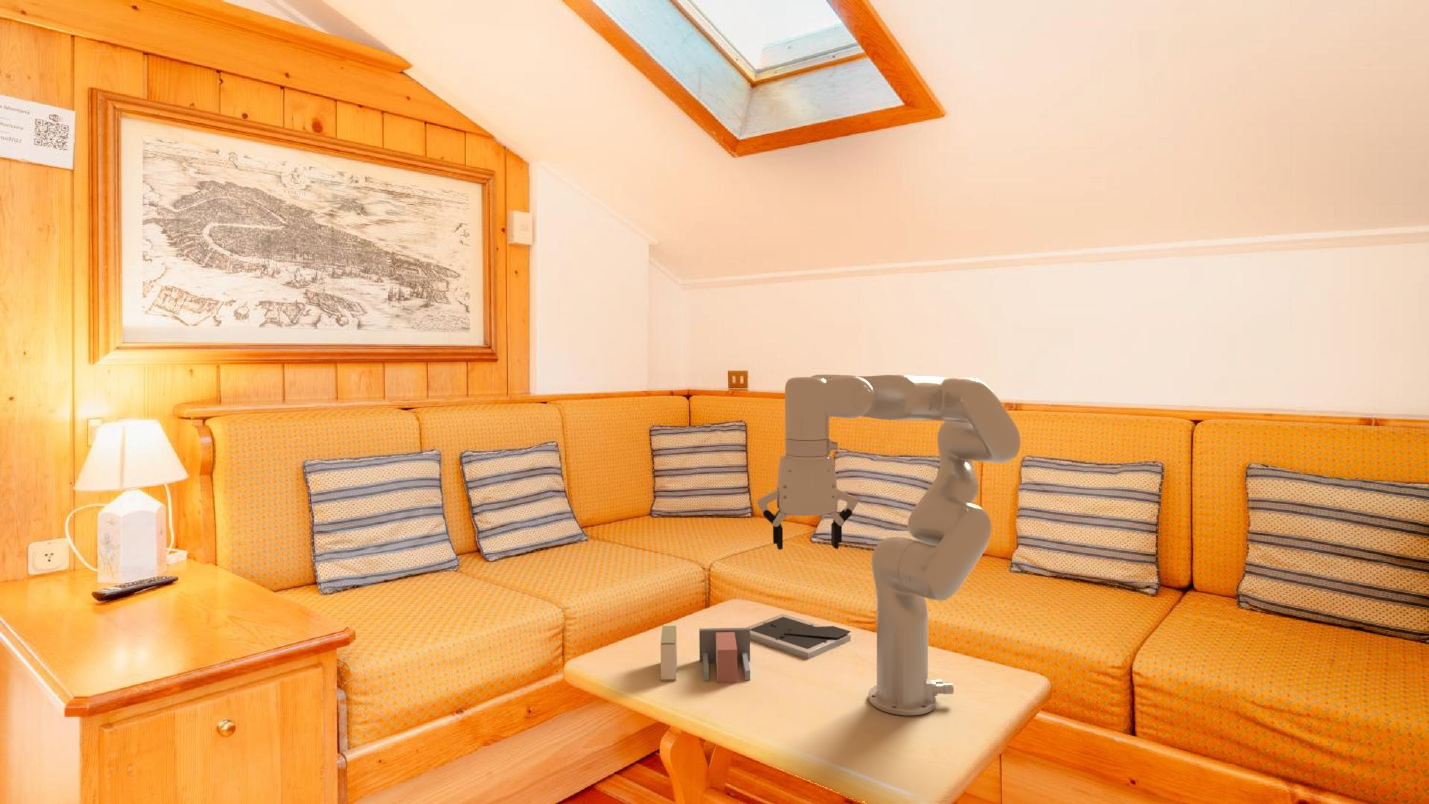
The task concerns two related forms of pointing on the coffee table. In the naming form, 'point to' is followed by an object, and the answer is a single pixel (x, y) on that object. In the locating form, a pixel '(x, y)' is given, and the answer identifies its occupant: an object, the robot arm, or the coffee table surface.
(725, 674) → the reddish pink rectangular block
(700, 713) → the coffee table surface
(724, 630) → the shelf slot
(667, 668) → the olive rectangular block
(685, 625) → the coffee table surface
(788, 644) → the picture frame
